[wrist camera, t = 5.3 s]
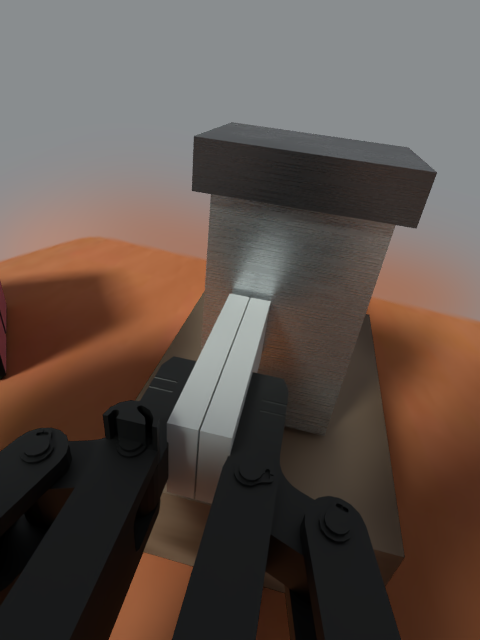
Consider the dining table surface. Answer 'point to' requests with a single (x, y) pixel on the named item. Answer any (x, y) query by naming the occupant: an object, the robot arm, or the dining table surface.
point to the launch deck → (306, 461)
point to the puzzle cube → (2, 334)
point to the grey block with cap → (303, 244)
